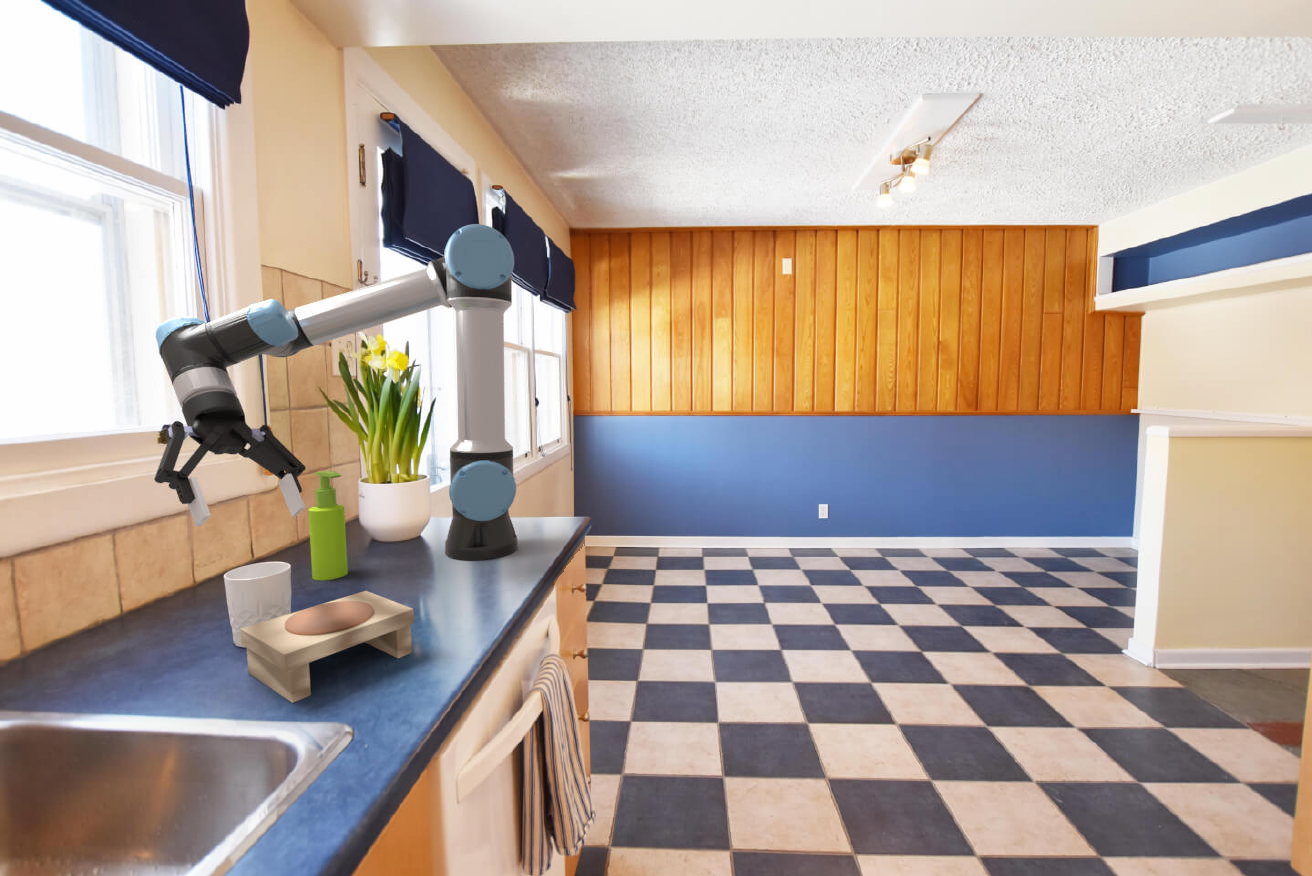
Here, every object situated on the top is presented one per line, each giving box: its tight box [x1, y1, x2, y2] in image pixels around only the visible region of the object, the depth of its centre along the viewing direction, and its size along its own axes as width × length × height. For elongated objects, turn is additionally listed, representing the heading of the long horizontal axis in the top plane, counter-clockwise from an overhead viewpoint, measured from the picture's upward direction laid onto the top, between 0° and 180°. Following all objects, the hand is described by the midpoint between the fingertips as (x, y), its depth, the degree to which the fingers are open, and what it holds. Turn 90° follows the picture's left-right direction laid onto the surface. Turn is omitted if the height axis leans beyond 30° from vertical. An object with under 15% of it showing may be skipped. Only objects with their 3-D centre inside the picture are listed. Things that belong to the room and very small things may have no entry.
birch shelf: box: [241, 590, 415, 704], centre depth 76 cm, size 16×12×6 cm
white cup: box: [223, 561, 292, 649], centre depth 83 cm, size 8×8×10 cm
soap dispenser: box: [307, 470, 349, 581], centre depth 109 cm, size 6×7×20 cm
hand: (254, 516), depth 87 cm, fingers open, 13 cm apart
